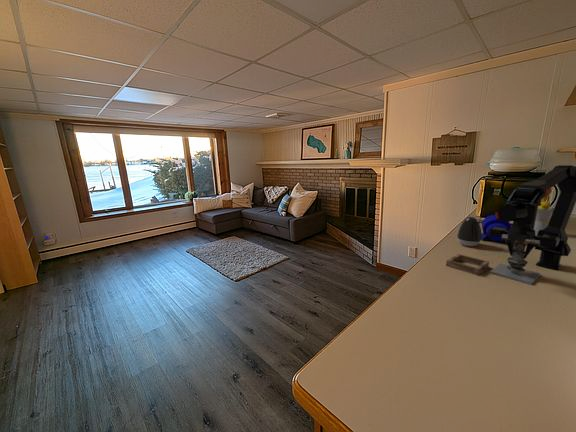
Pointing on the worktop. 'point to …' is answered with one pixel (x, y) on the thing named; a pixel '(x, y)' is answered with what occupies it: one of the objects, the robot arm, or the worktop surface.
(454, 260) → the walnut holder
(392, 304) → the worktop surface
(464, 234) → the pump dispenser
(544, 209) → the lava lamp
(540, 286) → the worktop surface
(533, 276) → the slate coaster
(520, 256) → the salt shaker
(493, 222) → the alarm clock
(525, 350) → the worktop surface
